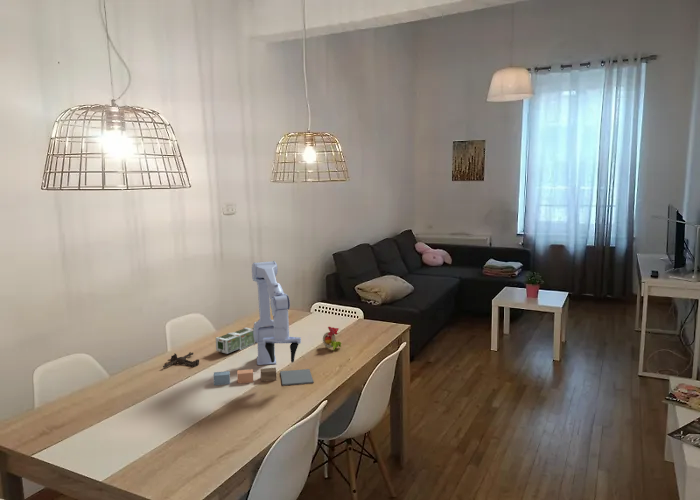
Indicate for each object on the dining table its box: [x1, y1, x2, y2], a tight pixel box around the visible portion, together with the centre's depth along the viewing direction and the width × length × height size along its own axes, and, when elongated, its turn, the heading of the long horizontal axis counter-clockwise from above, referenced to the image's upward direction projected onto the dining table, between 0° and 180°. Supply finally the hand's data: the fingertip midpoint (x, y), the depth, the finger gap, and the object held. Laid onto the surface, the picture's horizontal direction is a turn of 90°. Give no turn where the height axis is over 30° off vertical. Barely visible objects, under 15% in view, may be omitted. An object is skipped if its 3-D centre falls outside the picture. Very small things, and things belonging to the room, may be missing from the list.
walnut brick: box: [260, 367, 277, 382], centre depth 207 cm, size 4×6×4 cm, turn 102°
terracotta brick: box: [236, 368, 254, 384], centre depth 205 cm, size 4×6×4 cm, turn 102°
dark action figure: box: [162, 351, 200, 369], centre depth 223 cm, size 18×4×14 cm
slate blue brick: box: [213, 370, 231, 386], centre depth 203 cm, size 4×6×4 cm, turn 101°
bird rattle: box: [322, 326, 342, 351], centre depth 241 cm, size 6×11×9 cm
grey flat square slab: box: [279, 368, 314, 386], centre depth 208 cm, size 13×12×1 cm
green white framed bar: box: [215, 321, 267, 354], centre depth 248 cm, size 35×8×7 cm, turn 148°
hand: (282, 361), depth 200 cm, fingers open, 7 cm apart
